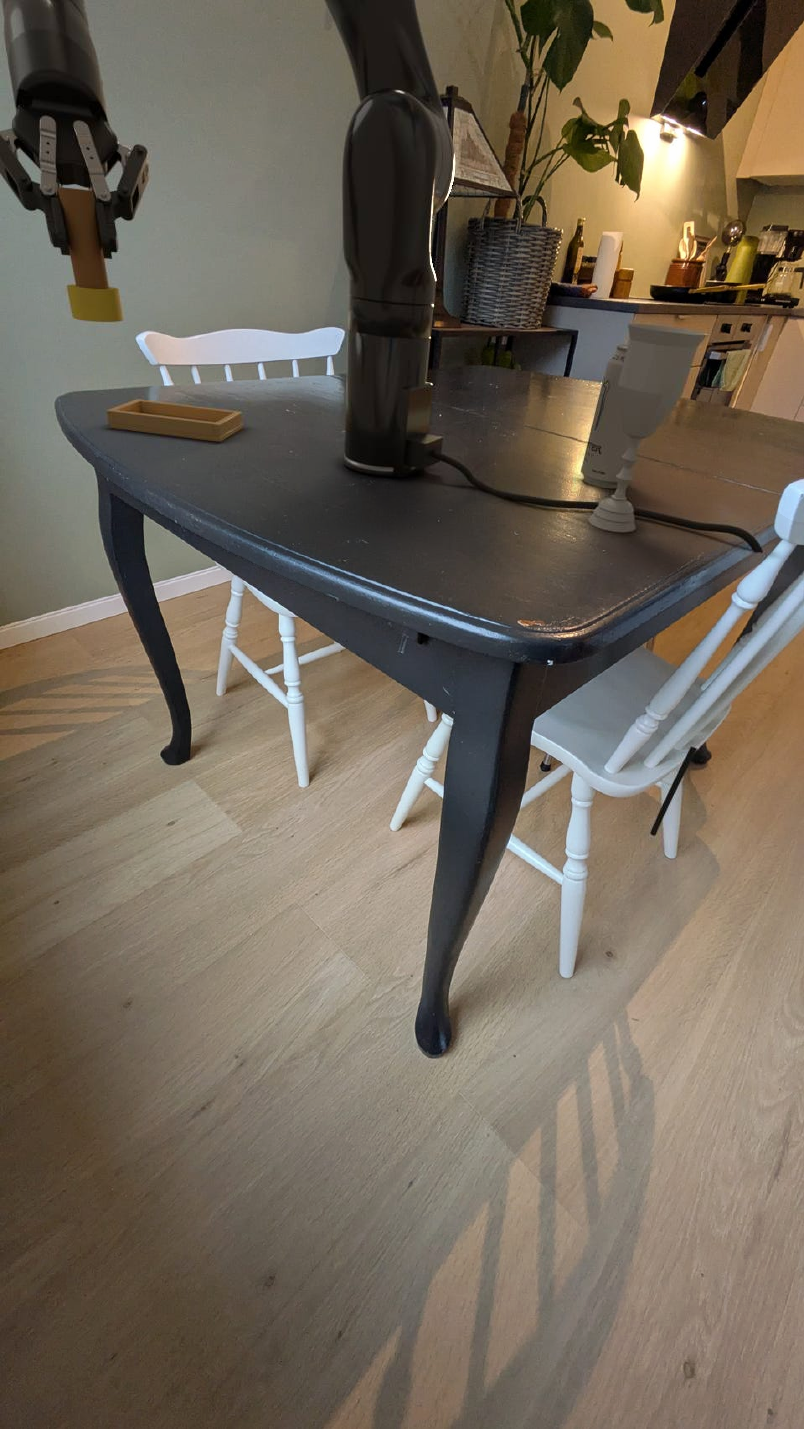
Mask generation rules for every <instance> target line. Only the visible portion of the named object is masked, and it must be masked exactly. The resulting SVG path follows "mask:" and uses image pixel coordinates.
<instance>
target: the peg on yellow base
mask: <svg viewBox="0 0 804 1429" xmlns="http://www.w3.org/2000/svg"><path fill="white" fill-rule="evenodd" d="M57 188H58V194H59V198H60V202H61V207H62V212H63V218H64V223H65V228H66V234H67V239H68V244H69V250H70V256H69V258H70V262H71V267H72V273H73V277H74V283H75V284H68V285H66V292H67V296H68V301H69V306H70V310H71V316H72V318H73V319H75V320H79V321H85V322H94V323H95V322H96V323H97V322H98V323H117V322H122V321H124V316H123V311H122V303H121V298H120V297H121V296H120V290H119V288H117V287H113V286H110V285H109V279H108V273H107V268H106V267H107V266H106V261H105V258H104V256H103V250H102V244H101V238H100V232H99V226H98V220H97V214H96V208H95V199H94V193H93V191H90V190H88V189H82V188H72V187H64V186H63V187H57Z"/></svg>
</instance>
